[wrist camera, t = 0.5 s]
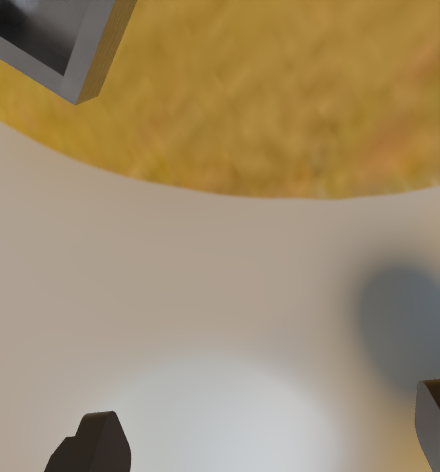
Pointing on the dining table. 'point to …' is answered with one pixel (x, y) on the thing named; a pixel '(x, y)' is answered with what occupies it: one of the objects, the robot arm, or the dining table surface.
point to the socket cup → (63, 42)
